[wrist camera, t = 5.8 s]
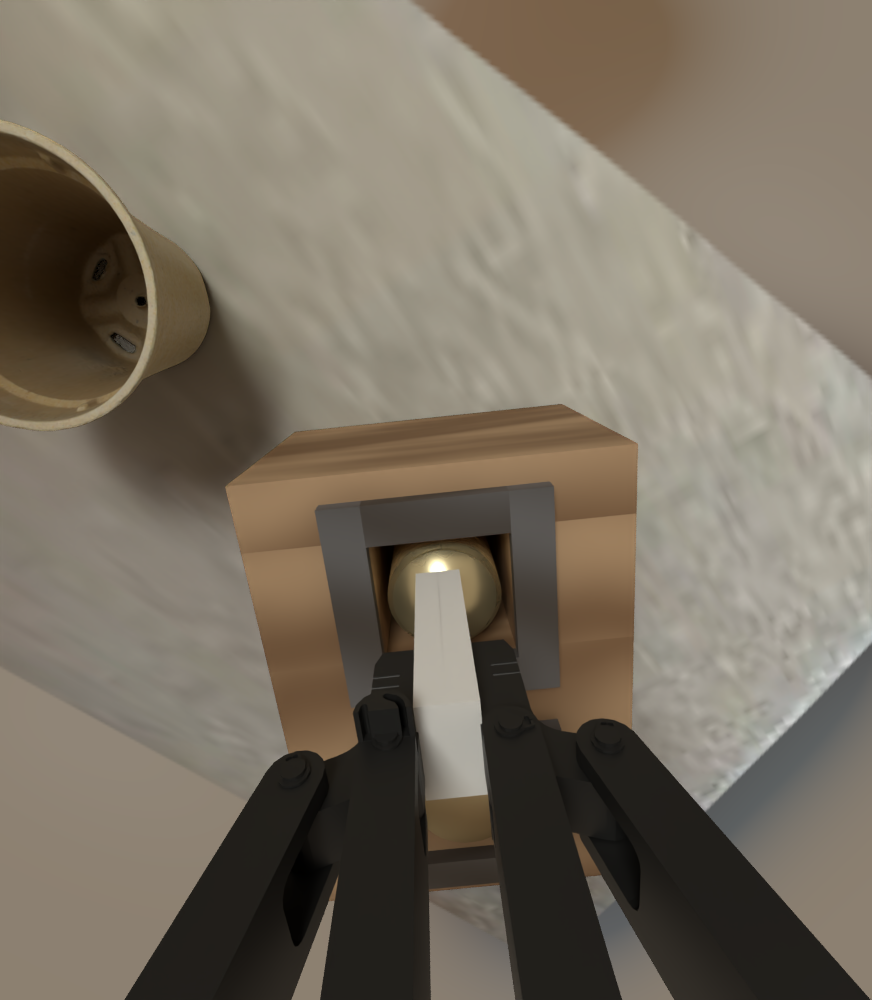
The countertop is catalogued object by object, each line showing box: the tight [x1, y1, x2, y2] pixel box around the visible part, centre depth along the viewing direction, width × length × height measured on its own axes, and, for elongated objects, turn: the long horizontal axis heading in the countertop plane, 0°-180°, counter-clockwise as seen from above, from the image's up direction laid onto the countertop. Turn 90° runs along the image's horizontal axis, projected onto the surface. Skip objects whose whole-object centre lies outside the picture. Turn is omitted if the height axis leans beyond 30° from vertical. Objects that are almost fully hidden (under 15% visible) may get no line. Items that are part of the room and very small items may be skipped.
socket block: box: [225, 404, 638, 901], centre depth 25 cm, size 20×14×11 cm
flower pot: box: [0, 120, 210, 431], centre depth 21 cm, size 9×9×9 cm
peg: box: [388, 536, 501, 639], centre depth 23 cm, size 4×4×8 cm
